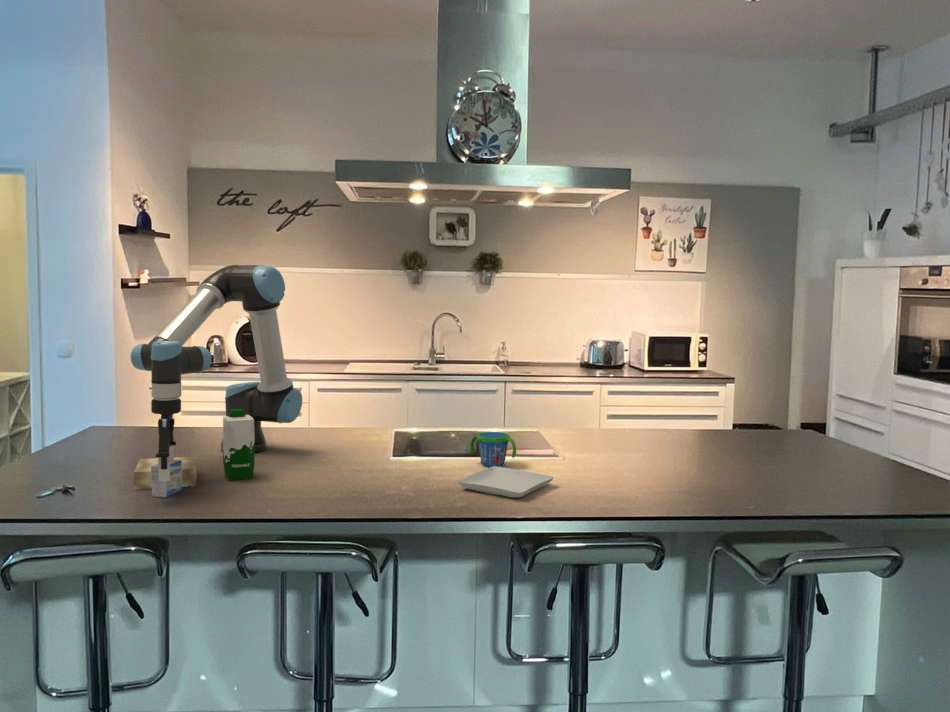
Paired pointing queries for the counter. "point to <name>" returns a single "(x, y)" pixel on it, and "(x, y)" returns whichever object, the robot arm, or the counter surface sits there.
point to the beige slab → (144, 465)
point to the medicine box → (167, 486)
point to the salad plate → (505, 481)
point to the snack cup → (493, 448)
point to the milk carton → (238, 445)
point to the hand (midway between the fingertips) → (166, 475)
